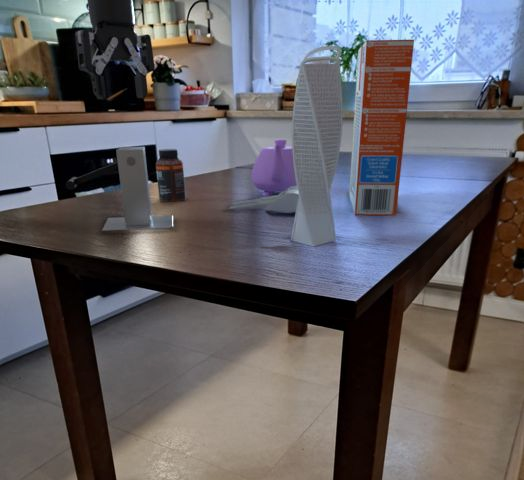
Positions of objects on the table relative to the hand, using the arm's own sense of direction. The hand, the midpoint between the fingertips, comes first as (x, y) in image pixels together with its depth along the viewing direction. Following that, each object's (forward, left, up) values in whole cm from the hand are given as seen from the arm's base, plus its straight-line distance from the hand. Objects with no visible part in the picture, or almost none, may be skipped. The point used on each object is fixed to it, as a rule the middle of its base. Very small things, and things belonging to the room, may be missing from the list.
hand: (122, 98), depth 95 cm
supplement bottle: (+7, +12, -22) cm, 26 cm away
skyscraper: (+30, -27, -22) cm, 46 cm away
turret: (+28, -3, -22) cm, 36 cm away
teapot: (+33, +19, -22) cm, 44 cm away
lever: (-3, -13, -12) cm, 18 cm away
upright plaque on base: (+1, -13, -21) cm, 25 cm away
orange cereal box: (+50, +1, -22) cm, 55 cm away
